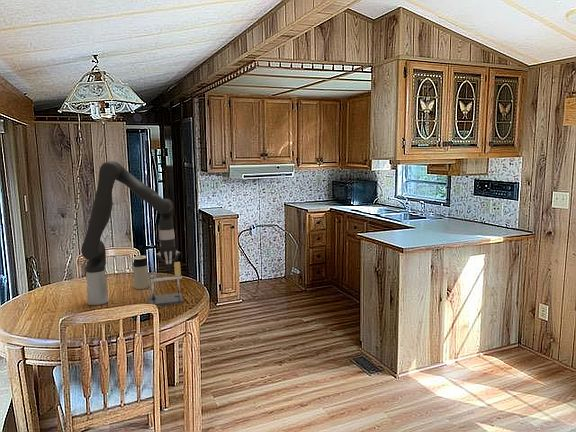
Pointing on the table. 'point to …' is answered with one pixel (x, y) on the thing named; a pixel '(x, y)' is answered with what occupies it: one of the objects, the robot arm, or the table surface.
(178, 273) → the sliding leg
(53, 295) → the table surface
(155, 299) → the bolt plate
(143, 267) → the travel mug
